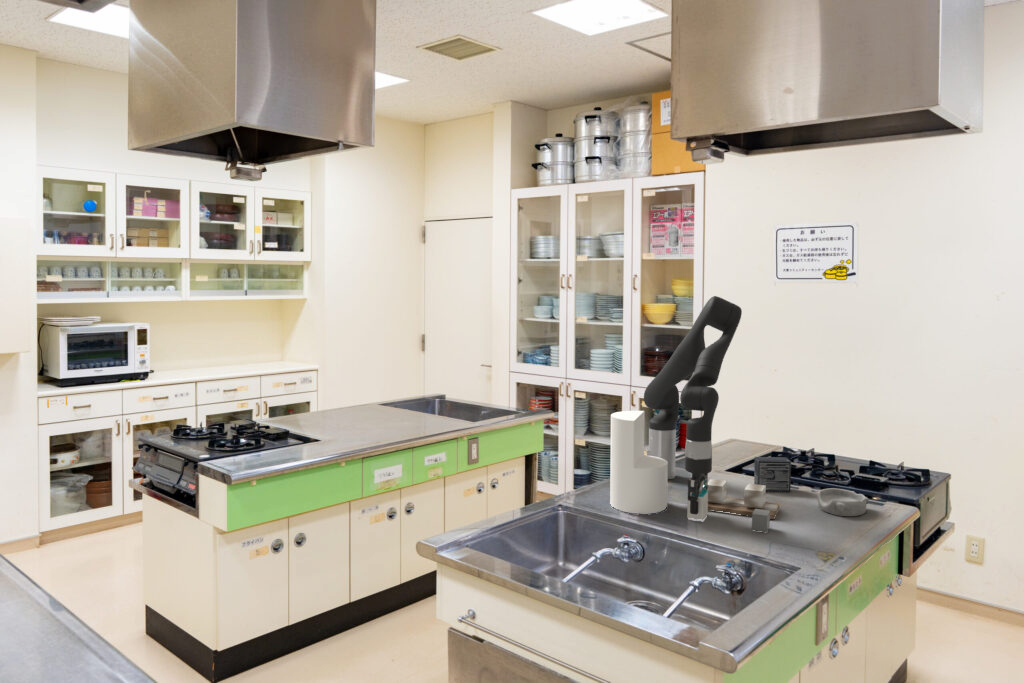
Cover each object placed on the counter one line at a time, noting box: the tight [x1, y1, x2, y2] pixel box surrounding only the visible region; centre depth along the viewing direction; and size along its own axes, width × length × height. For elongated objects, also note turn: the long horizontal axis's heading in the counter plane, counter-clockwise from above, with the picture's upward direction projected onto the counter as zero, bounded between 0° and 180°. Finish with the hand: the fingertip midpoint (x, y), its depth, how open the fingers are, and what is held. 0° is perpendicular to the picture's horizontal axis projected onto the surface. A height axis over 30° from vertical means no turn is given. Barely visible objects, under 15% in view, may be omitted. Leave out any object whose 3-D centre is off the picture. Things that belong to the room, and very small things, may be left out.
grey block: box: [751, 509, 771, 533], centre depth 209 cm, size 4×5×5 cm
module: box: [686, 489, 709, 520], centre depth 218 cm, size 4×6×8 cm
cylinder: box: [609, 410, 668, 513], centre depth 230 cm, size 17×17×28 cm
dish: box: [817, 487, 869, 517], centre depth 226 cm, size 14×14×5 cm
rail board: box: [707, 478, 781, 520], centre depth 227 cm, size 24×12×7 cm, turn 63°
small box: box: [753, 456, 792, 494], centre depth 247 cm, size 11×6×10 cm, turn 84°
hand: (697, 509), depth 219 cm, fingers open, 8 cm apart
